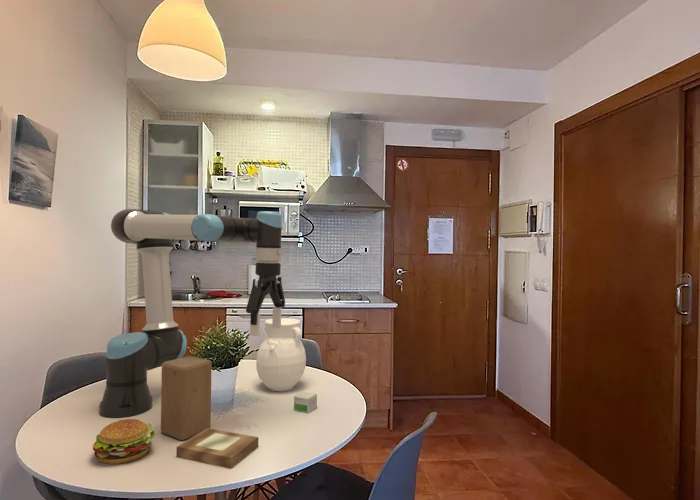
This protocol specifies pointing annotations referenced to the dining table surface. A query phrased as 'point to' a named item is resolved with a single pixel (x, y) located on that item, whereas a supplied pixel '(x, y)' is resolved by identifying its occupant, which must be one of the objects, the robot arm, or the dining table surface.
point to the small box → (305, 402)
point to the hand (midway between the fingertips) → (266, 331)
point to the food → (123, 441)
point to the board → (217, 447)
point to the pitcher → (281, 355)
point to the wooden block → (185, 397)
